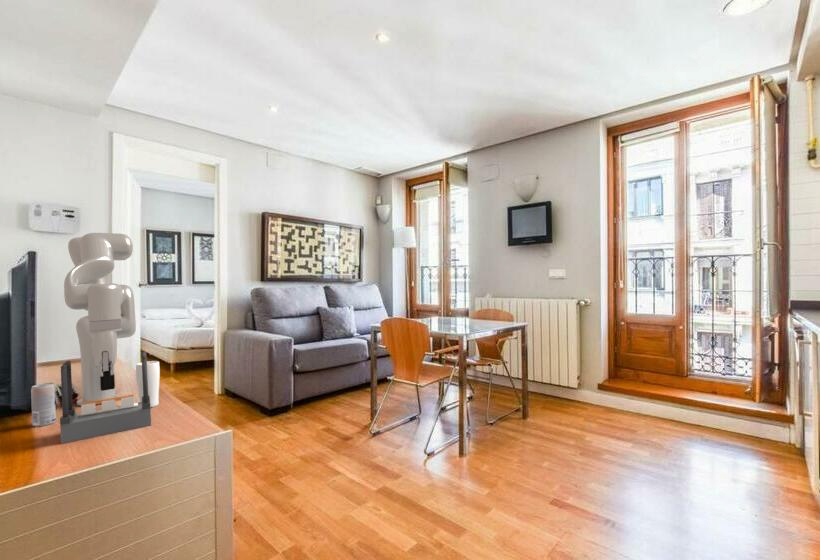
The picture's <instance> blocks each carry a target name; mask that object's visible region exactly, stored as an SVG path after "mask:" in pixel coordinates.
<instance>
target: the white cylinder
mask: <svg viewBox="0 0 820 560" xmlns="http://www.w3.org/2000/svg"><path fill="white" fill-rule="evenodd" d="M160 376H161V368H160V361H158V360H151V361H150V360H149V361H148V360H147V378H148V396H150V409H152V408H154V407H157V406H158V405H159V403H160V402H159V399H160V397H159V395H160V393H159V392H160V380H161V379H160V378H161V377H160ZM135 377H136V383H137V385H136V386H137V391H138V397H139V402H142V397H143V376H142V362H139V363H136V364H135ZM151 407H152V408H151Z"/></svg>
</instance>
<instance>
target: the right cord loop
mask: <svg viewBox="0 0 820 560" xmlns="http://www.w3.org/2000/svg"><path fill="white" fill-rule="evenodd" d="M147 362H148V359H147V352H146V351H143V352H141V363H142V376H143V397H142V410H145V409H150V410H151V408H150V396H148V378H147Z"/></svg>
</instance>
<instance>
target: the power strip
mask: <svg viewBox="0 0 820 560" xmlns="http://www.w3.org/2000/svg"><path fill="white" fill-rule="evenodd" d="M135 403H136V402H134V404H135ZM137 403H138V406H137V407H131V408H126V409H120V410H115V411H109V412H103V413H98V414H92V415H86V416H81V417H77V413H78V412H77V413H76V412H75V415H74V416H71V423H69V424H63V425H60V426H59V427H60V444H67V443H73V442H76V441H82V440H86V439H87V440H88V439H91V438H96V437H101V436H105V435H110V434H111V435H112V434H115V433H116V434H117V433H121V432H126V431H130V430H136V429H140V428H146V427H151V426H152V419H151V417H152V412H151V408H150V409H145V410H142V402H140V401H139V402H137ZM117 406H118V405H117ZM117 406H116V405H115V407H117ZM100 409H101V408H100ZM100 409H98V410H100ZM150 425H151V426H150ZM145 426H146V427H145Z"/></svg>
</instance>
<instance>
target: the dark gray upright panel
mask: <svg viewBox="0 0 820 560" xmlns="http://www.w3.org/2000/svg"><path fill="white" fill-rule="evenodd" d="M60 383H61V386H60V387H61V388H60V389H61V405H62V409H61V411H62V416H61V417H60V418H59V424H60V425H63V424H69V423H71V416H74V415H75V414H76V407H74V405H73V387H72V386H73V381H72V363H71V361H70V360H66V361H65V362H64V363H63V364H62V365H60Z"/></svg>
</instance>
